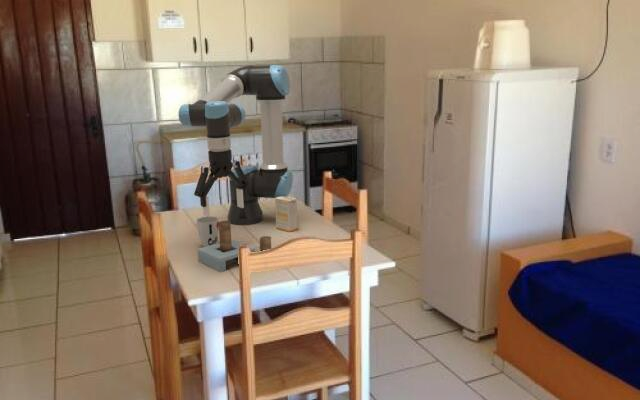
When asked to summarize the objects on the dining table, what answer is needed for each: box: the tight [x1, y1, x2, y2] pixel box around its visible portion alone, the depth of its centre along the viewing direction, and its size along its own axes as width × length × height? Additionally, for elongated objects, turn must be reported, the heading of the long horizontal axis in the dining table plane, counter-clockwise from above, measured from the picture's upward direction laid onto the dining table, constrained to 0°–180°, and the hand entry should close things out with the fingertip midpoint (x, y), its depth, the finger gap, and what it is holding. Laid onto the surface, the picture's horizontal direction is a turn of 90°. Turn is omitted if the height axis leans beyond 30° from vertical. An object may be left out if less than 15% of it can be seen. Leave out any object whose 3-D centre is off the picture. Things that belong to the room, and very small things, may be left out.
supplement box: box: [274, 196, 299, 233], centre depth 225 cm, size 8×5×13 cm, turn 47°
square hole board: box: [196, 239, 256, 273], centre depth 192 cm, size 14×14×4 cm
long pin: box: [218, 220, 234, 264], centre depth 191 cm, size 4×4×14 cm
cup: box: [195, 216, 220, 247], centre depth 208 cm, size 8×8×10 cm
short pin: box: [259, 235, 272, 252], centre depth 198 cm, size 4×4×6 cm
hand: (224, 211), depth 189 cm, fingers open, 13 cm apart
